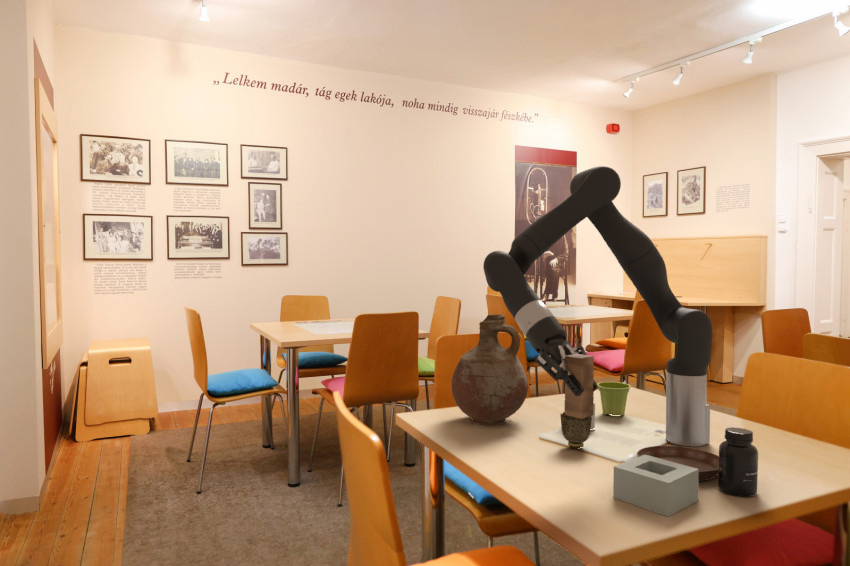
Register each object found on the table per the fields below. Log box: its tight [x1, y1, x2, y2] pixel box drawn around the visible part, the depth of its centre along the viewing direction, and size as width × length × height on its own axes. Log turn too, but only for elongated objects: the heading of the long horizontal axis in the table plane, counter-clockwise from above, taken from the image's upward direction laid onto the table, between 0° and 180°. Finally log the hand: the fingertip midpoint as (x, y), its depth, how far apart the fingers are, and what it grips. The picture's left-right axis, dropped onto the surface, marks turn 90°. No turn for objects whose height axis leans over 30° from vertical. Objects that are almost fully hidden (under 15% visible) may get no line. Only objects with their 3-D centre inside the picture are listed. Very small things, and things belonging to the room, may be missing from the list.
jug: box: [451, 314, 529, 426], centre depth 168 cm, size 22×22×30 cm
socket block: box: [612, 455, 699, 517], centre depth 113 cm, size 11×11×6 cm
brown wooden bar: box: [564, 354, 595, 419], centre depth 120 cm, size 4×4×12 cm
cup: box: [559, 411, 592, 450], centre depth 144 cm, size 8×7×8 cm
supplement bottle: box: [717, 427, 759, 498], centre depth 116 cm, size 7×7×12 cm
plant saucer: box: [636, 445, 719, 482], centre depth 129 cm, size 18×18×3 cm
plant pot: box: [596, 381, 632, 416], centre depth 175 cm, size 9×9×9 cm
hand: (587, 391), depth 119 cm, fingers closed on brown wooden bar, 4 cm apart
